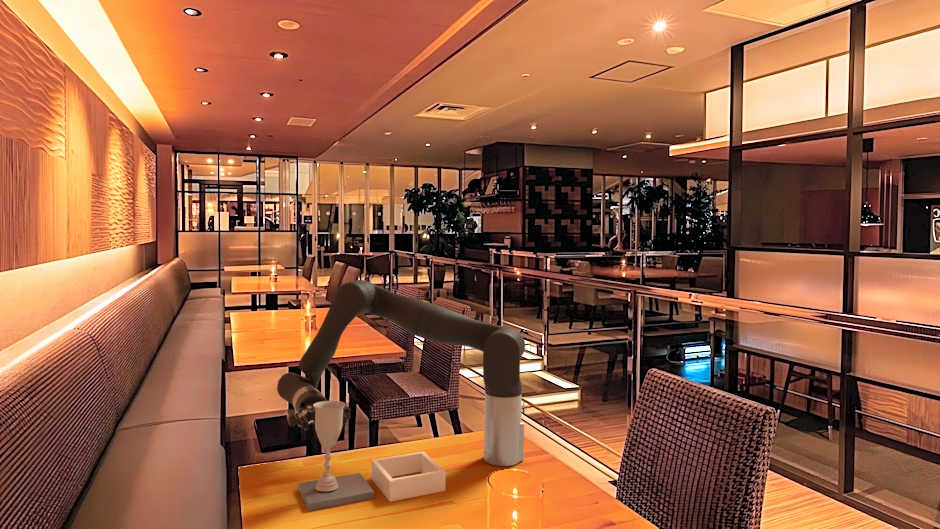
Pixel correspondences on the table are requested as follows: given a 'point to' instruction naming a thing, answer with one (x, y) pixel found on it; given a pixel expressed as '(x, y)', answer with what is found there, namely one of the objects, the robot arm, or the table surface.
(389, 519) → the table surface
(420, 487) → the open box
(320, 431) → the chalice
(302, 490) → the slate board
